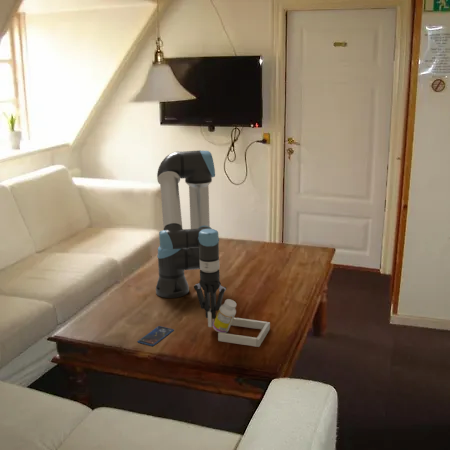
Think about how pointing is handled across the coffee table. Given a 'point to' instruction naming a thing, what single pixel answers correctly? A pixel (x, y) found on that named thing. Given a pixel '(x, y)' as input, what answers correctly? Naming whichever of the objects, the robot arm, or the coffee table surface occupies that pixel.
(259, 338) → the corral
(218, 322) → the supplement bottle
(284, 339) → the coffee table surface
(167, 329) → the smartphone
